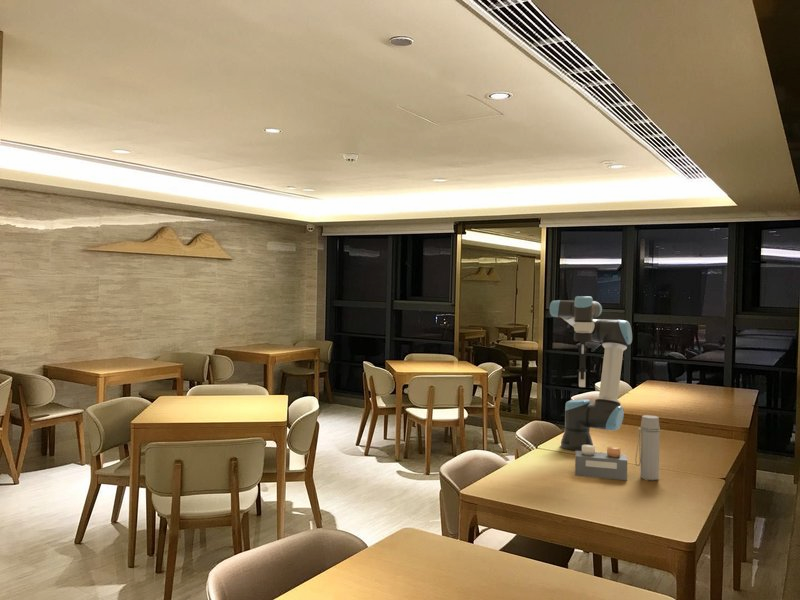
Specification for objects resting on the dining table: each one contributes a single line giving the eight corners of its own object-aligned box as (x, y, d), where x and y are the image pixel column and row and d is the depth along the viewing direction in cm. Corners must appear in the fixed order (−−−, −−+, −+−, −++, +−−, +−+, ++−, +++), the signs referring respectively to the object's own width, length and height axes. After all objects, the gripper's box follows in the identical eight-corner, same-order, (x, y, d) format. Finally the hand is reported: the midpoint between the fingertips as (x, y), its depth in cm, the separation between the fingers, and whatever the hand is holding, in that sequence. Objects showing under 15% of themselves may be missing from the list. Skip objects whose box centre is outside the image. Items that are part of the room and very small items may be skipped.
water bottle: (655, 476, 263) (657, 415, 263) (661, 481, 255) (663, 419, 255) (632, 475, 264) (633, 414, 263) (637, 480, 256) (639, 418, 256)
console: (575, 469, 271) (575, 450, 271) (625, 473, 265) (625, 454, 265) (575, 475, 261) (575, 456, 261) (627, 480, 255) (627, 460, 255)
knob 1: (581, 470, 268) (581, 444, 268) (594, 471, 266) (594, 445, 266) (581, 473, 263) (581, 447, 263) (594, 474, 261) (595, 448, 261)
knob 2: (606, 472, 265) (607, 446, 265) (619, 473, 264) (620, 447, 264) (606, 476, 260) (607, 449, 260) (620, 477, 259) (620, 450, 259)
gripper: (574, 331, 283) (573, 384, 283) (573, 332, 271) (572, 388, 271) (592, 331, 281) (591, 385, 281) (592, 333, 268) (591, 389, 269)
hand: (582, 386), depth 276 cm, fingers closed
